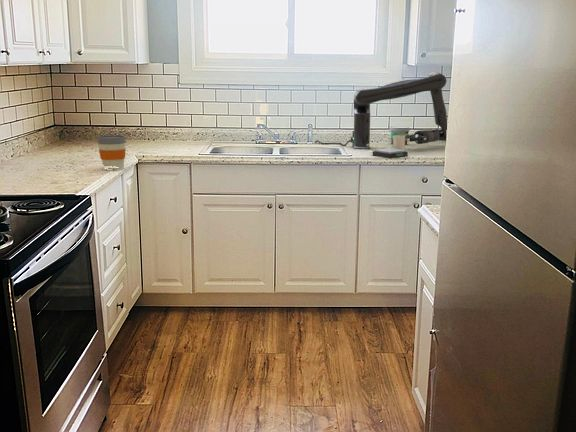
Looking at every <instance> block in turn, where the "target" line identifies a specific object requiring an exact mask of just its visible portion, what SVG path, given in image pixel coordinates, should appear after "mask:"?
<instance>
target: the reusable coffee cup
mask: <svg viewBox="0 0 576 432" xmlns="http://www.w3.org/2000/svg"><path fill="white" fill-rule="evenodd" d="M126 142H127V141H126V136H125V135H120V134H109V135H100V136H97V144H98V152H99V158H100V160H101V163H102V166H103V165H104V166H112V167H113V166H116V167H119V168H108V169H114V170H113V171H121V170H124V168H125V158H126V151H127V150H126Z"/></svg>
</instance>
